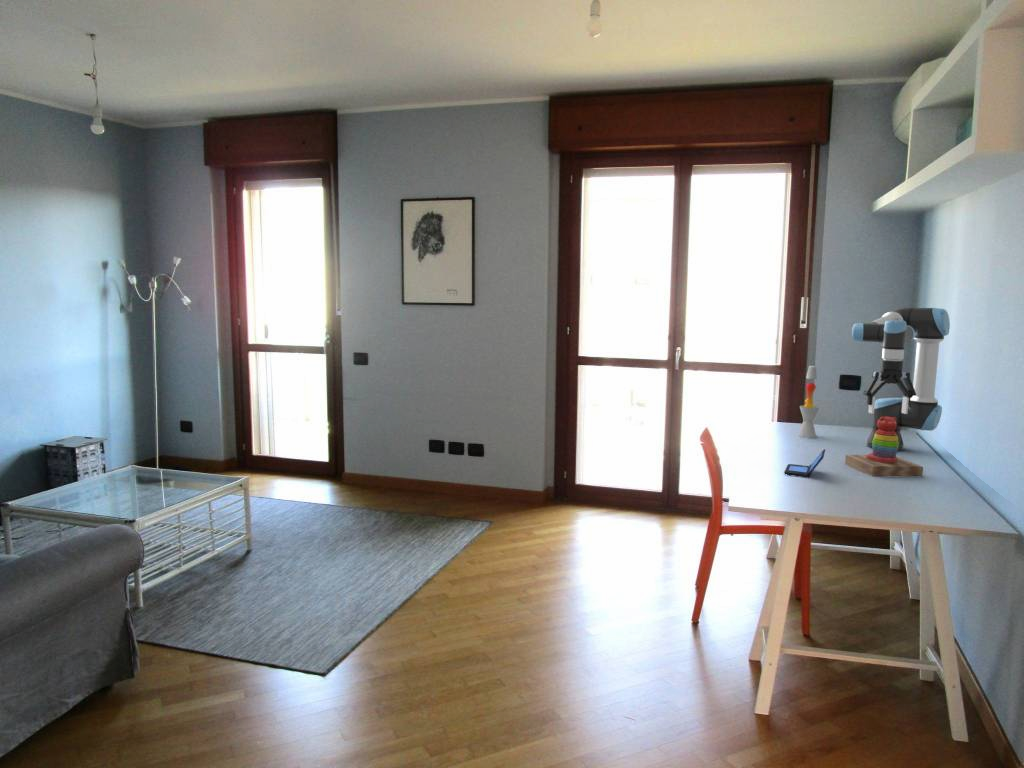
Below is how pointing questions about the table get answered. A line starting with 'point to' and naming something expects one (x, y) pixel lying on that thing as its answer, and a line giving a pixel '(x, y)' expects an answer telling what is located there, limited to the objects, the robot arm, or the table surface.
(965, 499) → the table surface
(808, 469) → the handheld game console
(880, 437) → the stacking bear
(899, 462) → the walnut plinth
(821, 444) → the table surface
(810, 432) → the lava lamp
